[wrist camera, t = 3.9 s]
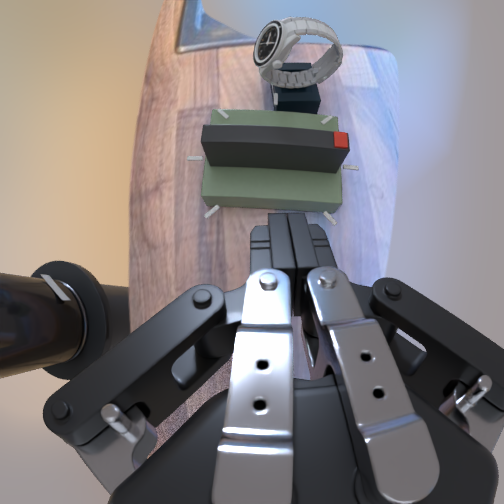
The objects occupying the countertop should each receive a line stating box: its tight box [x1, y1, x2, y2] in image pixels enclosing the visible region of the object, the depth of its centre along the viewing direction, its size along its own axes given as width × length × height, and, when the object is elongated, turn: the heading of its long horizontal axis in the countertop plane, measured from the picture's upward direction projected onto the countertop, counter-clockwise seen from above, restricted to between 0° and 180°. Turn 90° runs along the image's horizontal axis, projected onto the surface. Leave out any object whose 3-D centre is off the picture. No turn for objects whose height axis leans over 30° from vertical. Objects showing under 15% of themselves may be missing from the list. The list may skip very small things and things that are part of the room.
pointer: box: [201, 125, 350, 174], centre depth 23 cm, size 11×2×5 cm, turn 87°
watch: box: [253, 17, 343, 114], centre depth 24 cm, size 6×8×11 cm
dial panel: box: [187, 93, 359, 226], centre depth 27 cm, size 15×15×3 cm
